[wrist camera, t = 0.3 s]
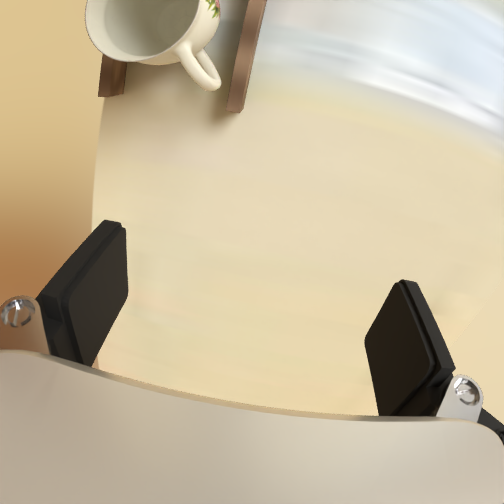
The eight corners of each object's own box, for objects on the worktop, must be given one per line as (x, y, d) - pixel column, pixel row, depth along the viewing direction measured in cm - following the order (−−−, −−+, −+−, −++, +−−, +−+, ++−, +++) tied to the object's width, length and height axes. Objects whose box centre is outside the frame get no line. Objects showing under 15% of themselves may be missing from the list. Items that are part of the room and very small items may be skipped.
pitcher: (189, 110, 36) (147, 132, 24) (115, 7, 29) (50, -7, 17) (267, 62, 33) (262, 57, 21) (186, -45, 25) (145, -86, 13)
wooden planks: (136, -35, 25) (123, -42, 22) (273, -28, 26) (273, -38, 23) (113, 93, 35) (98, 96, 32) (243, 108, 36) (239, 112, 32)
